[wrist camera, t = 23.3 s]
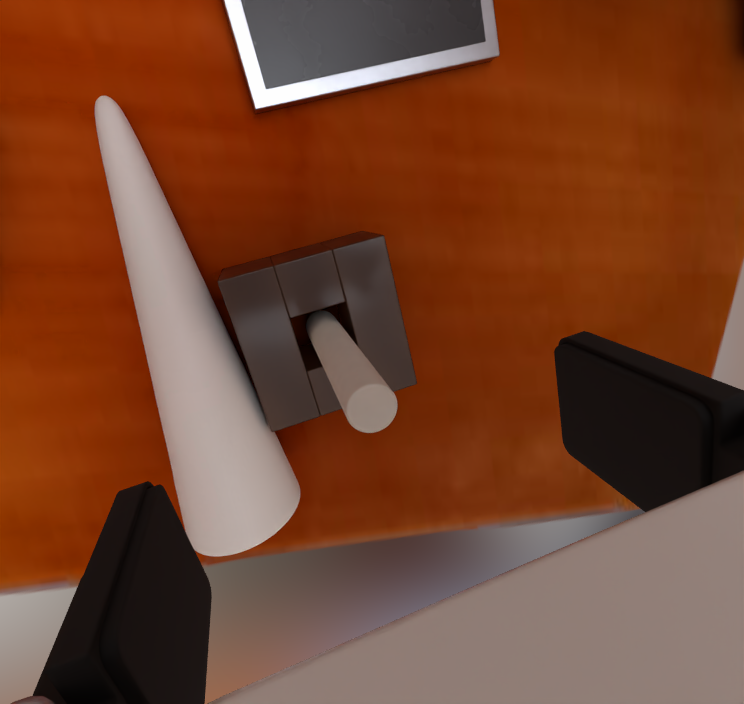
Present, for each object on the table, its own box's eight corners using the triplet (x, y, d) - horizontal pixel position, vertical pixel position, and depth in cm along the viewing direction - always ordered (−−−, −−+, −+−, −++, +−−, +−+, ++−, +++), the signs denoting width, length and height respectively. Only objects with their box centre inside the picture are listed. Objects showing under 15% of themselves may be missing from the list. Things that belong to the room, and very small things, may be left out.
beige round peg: (307, 337, 25) (353, 441, 14) (298, 309, 25) (340, 394, 13) (335, 328, 25) (403, 423, 14) (327, 300, 25) (391, 377, 14)
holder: (268, 399, 26) (271, 432, 22) (222, 269, 23) (217, 281, 19) (394, 359, 27) (417, 384, 23) (363, 230, 24) (384, 234, 21)
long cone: (131, 37, 14) (302, 533, 21) (176, 85, 20) (298, 458, 27) (-66, 77, 14) (174, 573, 20) (40, 114, 20) (199, 488, 26)
